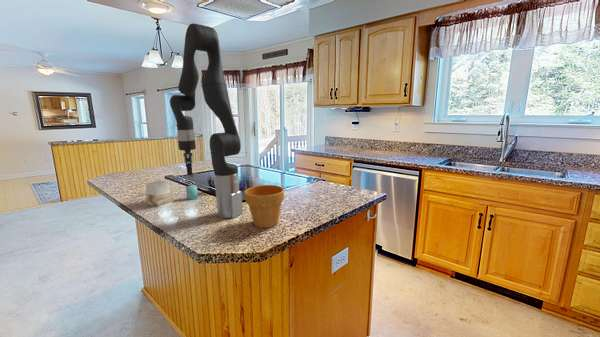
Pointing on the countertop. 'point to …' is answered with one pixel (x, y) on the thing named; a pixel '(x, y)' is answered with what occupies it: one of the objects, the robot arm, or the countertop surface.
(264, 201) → the flower pot
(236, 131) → the robot arm
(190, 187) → the teal cylinder
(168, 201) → the oak base block
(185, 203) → the countertop surface
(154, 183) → the white top block
